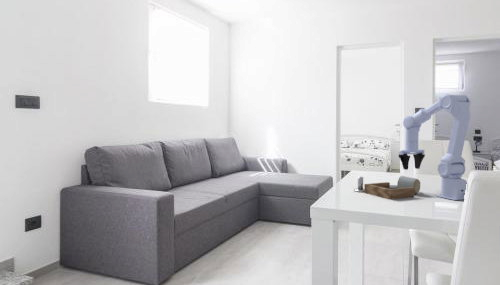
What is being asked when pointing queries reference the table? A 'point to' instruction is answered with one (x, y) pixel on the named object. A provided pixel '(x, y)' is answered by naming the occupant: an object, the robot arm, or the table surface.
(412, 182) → the ceramic mug
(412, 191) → the wooden tray
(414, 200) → the table surface
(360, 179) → the stand post
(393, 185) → the coaster
